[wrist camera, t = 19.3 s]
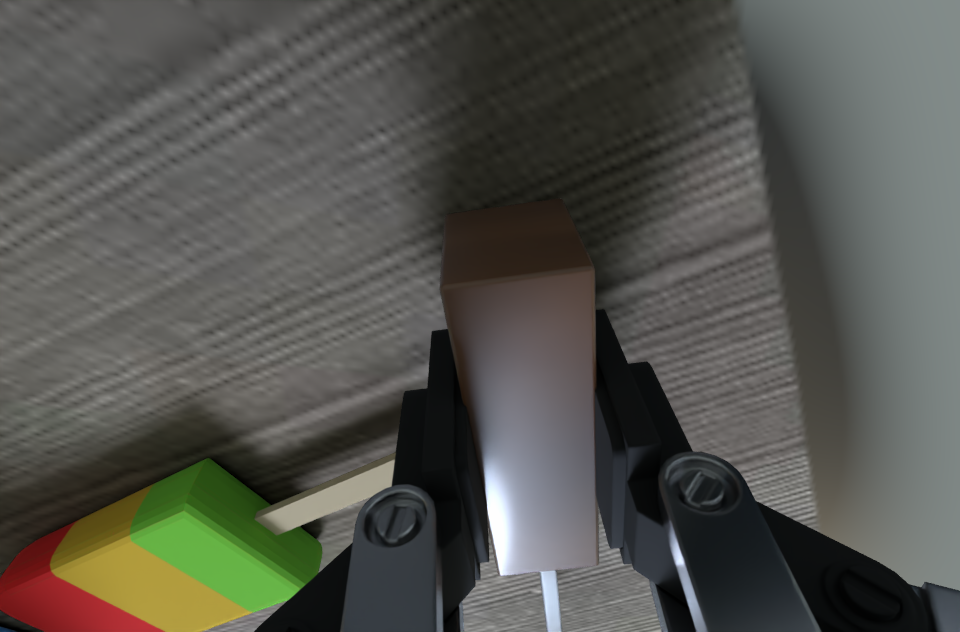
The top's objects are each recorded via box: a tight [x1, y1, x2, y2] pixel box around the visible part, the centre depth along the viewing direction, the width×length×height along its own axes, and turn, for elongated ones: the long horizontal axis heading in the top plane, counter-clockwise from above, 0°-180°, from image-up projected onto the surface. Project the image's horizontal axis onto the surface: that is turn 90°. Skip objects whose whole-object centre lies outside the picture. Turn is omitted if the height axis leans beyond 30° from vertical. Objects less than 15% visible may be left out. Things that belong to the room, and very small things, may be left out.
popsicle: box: [0, 452, 396, 632], centre depth 16 cm, size 6×15×2 cm, turn 119°
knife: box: [440, 198, 599, 632], centre depth 14 cm, size 17×2×3 cm, turn 8°
